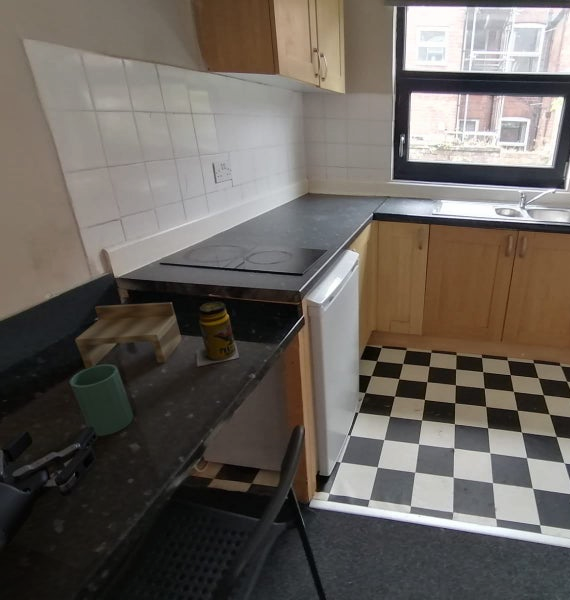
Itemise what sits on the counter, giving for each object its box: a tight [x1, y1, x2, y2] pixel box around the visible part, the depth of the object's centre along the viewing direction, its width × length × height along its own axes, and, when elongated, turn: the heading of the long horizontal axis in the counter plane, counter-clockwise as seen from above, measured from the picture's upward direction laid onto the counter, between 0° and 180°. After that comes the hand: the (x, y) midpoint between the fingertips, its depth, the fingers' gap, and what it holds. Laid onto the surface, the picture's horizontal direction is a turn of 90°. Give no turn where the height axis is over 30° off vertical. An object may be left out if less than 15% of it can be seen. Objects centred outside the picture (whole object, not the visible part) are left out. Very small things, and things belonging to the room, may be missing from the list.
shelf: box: [74, 301, 183, 369], centre depth 89 cm, size 16×10×10 cm, turn 97°
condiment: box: [195, 301, 240, 368], centre depth 88 cm, size 7×8×12 cm
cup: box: [69, 363, 134, 437], centre depth 68 cm, size 6×6×10 cm
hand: (60, 433), depth 58 cm, fingers open, 8 cm apart
